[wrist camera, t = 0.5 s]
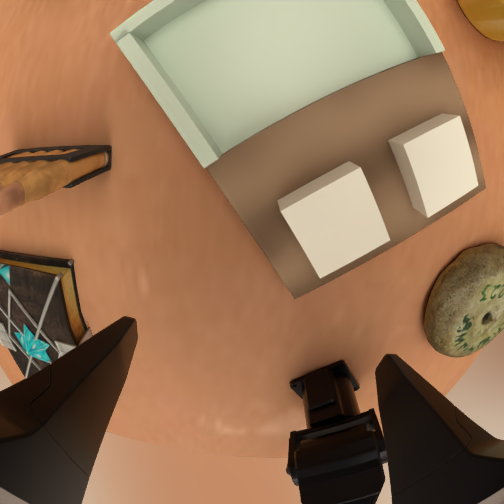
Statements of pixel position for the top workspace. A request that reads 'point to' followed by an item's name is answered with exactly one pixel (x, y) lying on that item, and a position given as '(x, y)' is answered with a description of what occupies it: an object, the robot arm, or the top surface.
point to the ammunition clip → (48, 171)
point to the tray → (262, 58)
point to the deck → (341, 160)
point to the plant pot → (485, 16)
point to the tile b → (435, 163)
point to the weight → (467, 302)
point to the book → (39, 310)
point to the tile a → (335, 218)
